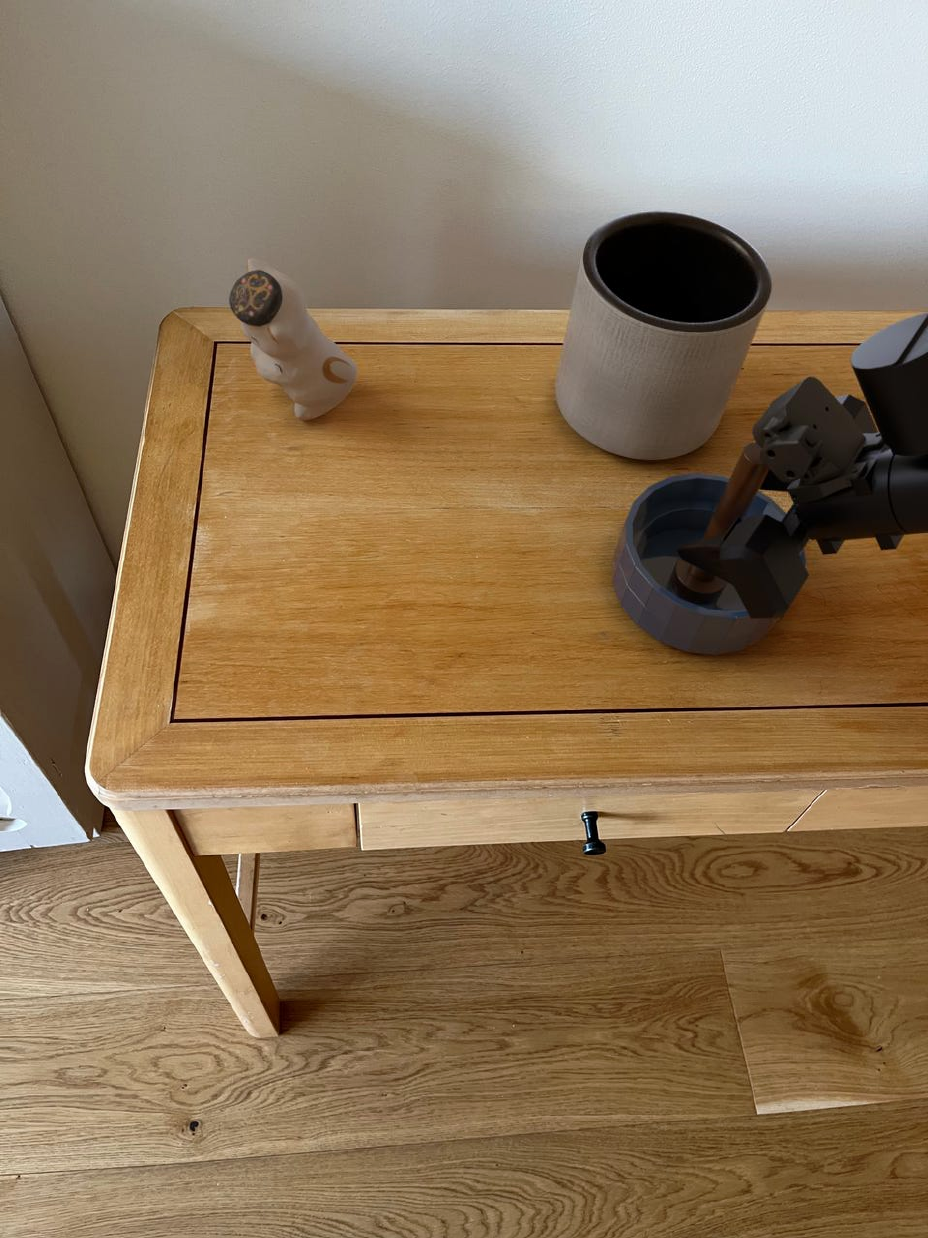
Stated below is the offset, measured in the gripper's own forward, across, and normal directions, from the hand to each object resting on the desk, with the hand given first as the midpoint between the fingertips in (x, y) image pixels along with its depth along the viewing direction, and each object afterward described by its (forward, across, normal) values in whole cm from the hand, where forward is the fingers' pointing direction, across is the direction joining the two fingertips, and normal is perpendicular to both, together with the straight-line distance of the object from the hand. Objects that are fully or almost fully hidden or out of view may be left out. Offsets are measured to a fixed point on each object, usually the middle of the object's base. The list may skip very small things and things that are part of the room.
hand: (707, 515), depth 71 cm
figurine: (+32, +5, -20) cm, 38 cm away
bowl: (+5, 0, +7) cm, 8 cm away
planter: (+15, -15, -3) cm, 22 cm away
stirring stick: (+4, 0, +6) cm, 8 cm away
